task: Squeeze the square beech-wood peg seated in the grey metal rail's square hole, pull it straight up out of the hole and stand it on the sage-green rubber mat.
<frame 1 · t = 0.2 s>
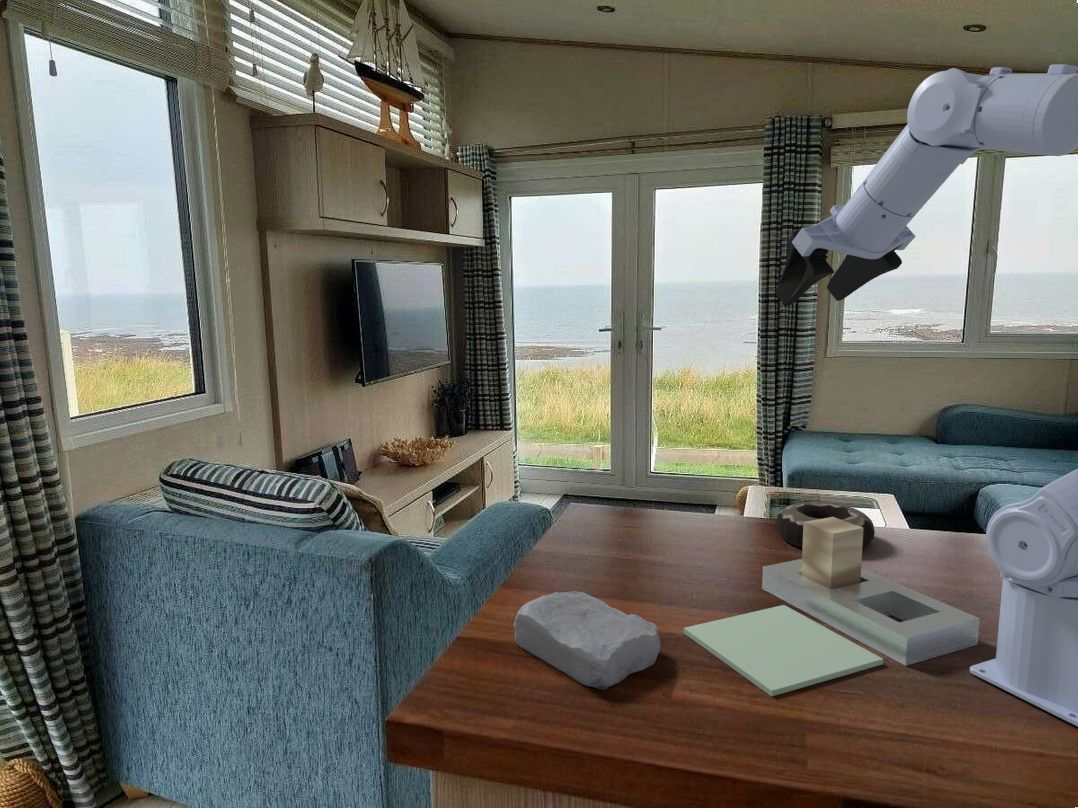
hand: (808, 296, 79), 31 cm above the kitchen counter, tool tilted 45°, fingers open, 7 cm apart
mat: (778, 647, 66), on the kitchen counter
donut: (823, 542, 94), on the kitchen counter
stone block: (591, 653, 66), on the kitchen counter
peg: (829, 599, 76), resting in rail
rail: (860, 614, 72), on the kitchen counter
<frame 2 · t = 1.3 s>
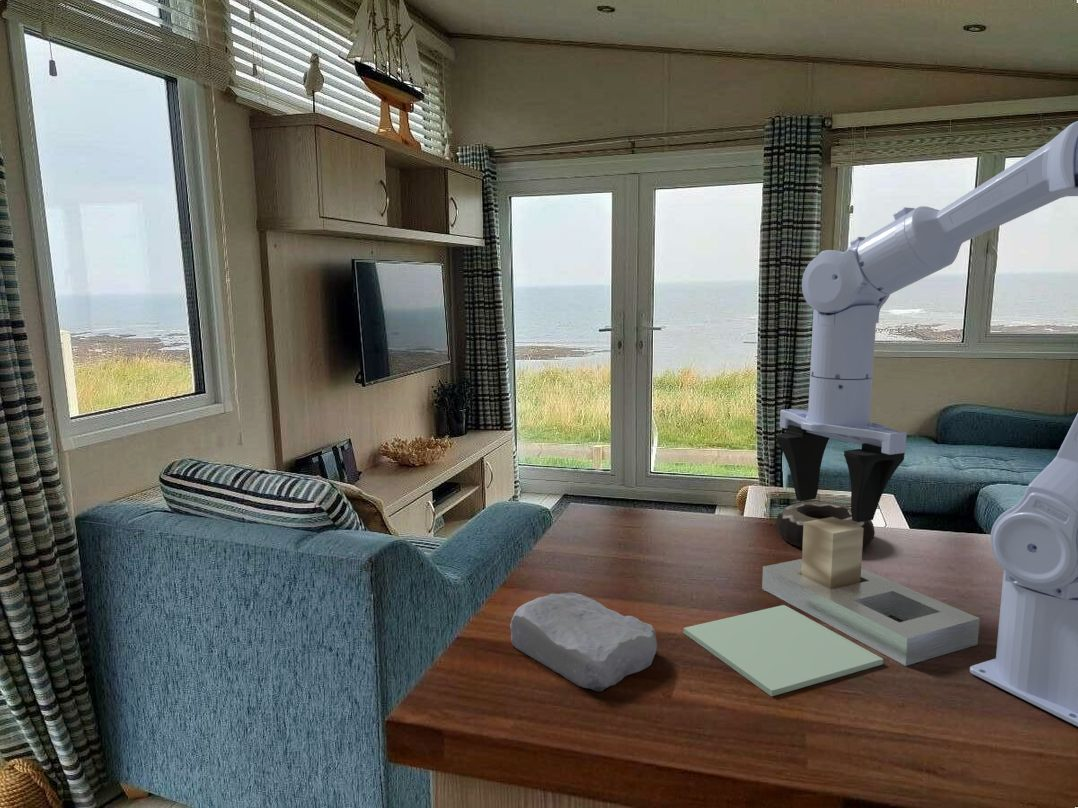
hand: (833, 509, 74), 10 cm above the kitchen counter, tool pointing down, fingers open, 7 cm apart
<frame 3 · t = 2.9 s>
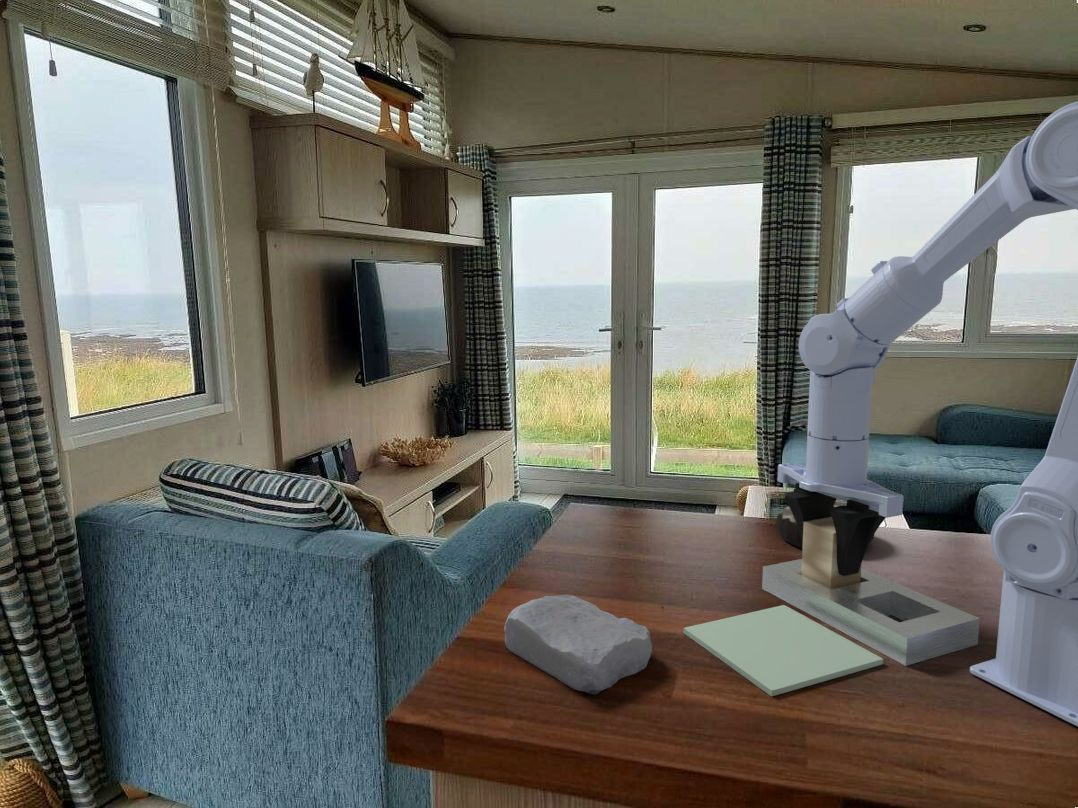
hand: (831, 565, 75), 4 cm above the kitchen counter, tool pointing down, fingers closed on peg, 4 cm apart
peg: (829, 599, 76), resting in rail, touching gripper
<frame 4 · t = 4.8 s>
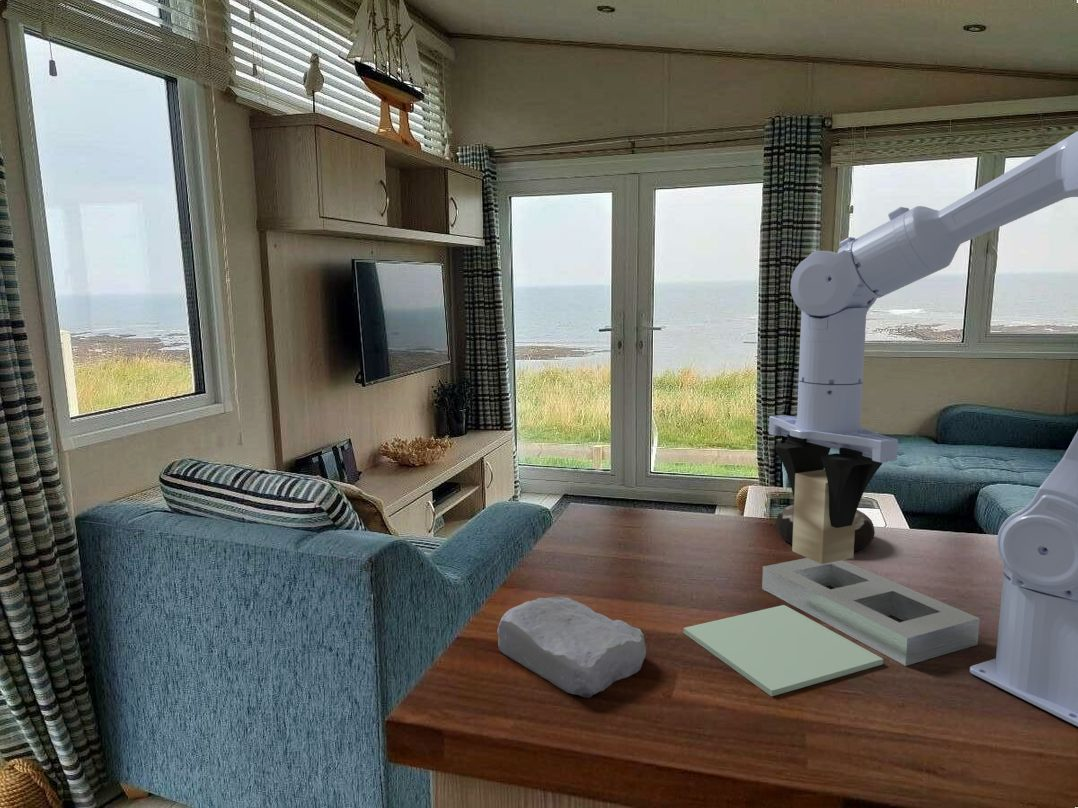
hand: (823, 518, 72), 9 cm above the kitchen counter, tool pointing down, fingers closed on peg, 4 cm apart
peg: (822, 554, 73), point 6 cm above the kitchen counter, touching gripper
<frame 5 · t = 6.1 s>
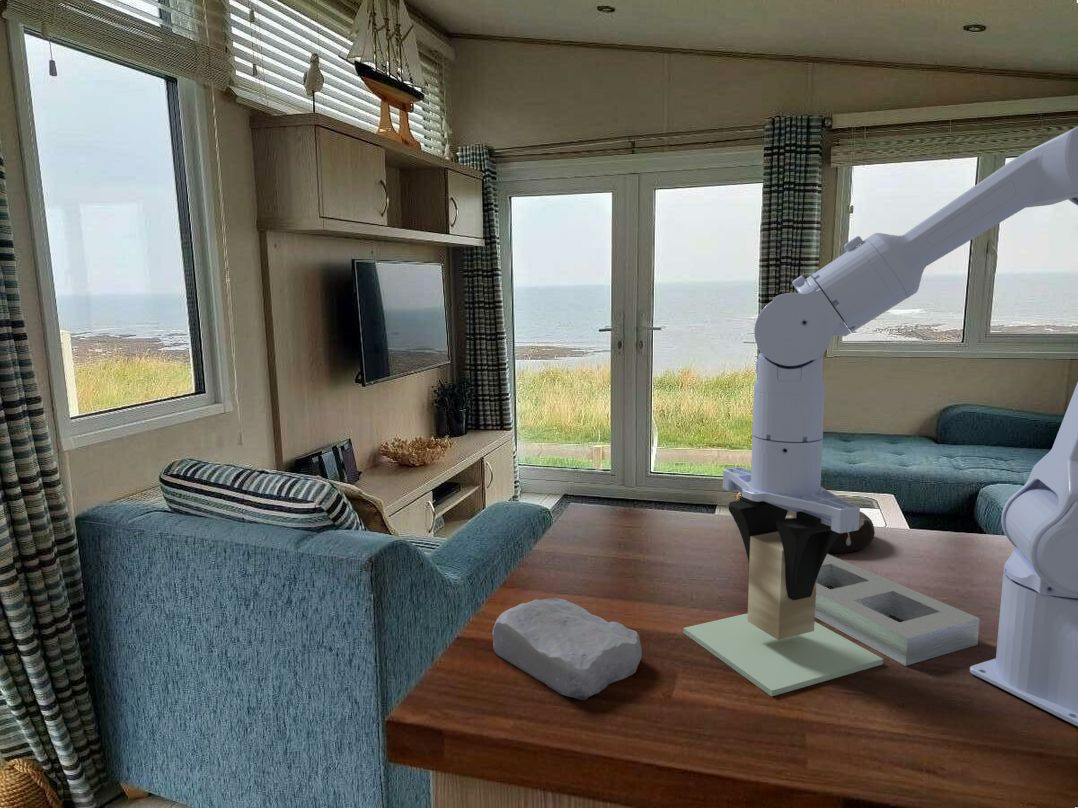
hand: (780, 587, 65), 6 cm above the kitchen counter, tool pointing down, fingers closed on peg, 4 cm apart
peg: (780, 626, 65), point 2 cm above the kitchen counter, touching gripper
when the fingers open (6 cm above the kitchen counter, at t = 6.9 s): peg drops 1 cm, resting on mat.
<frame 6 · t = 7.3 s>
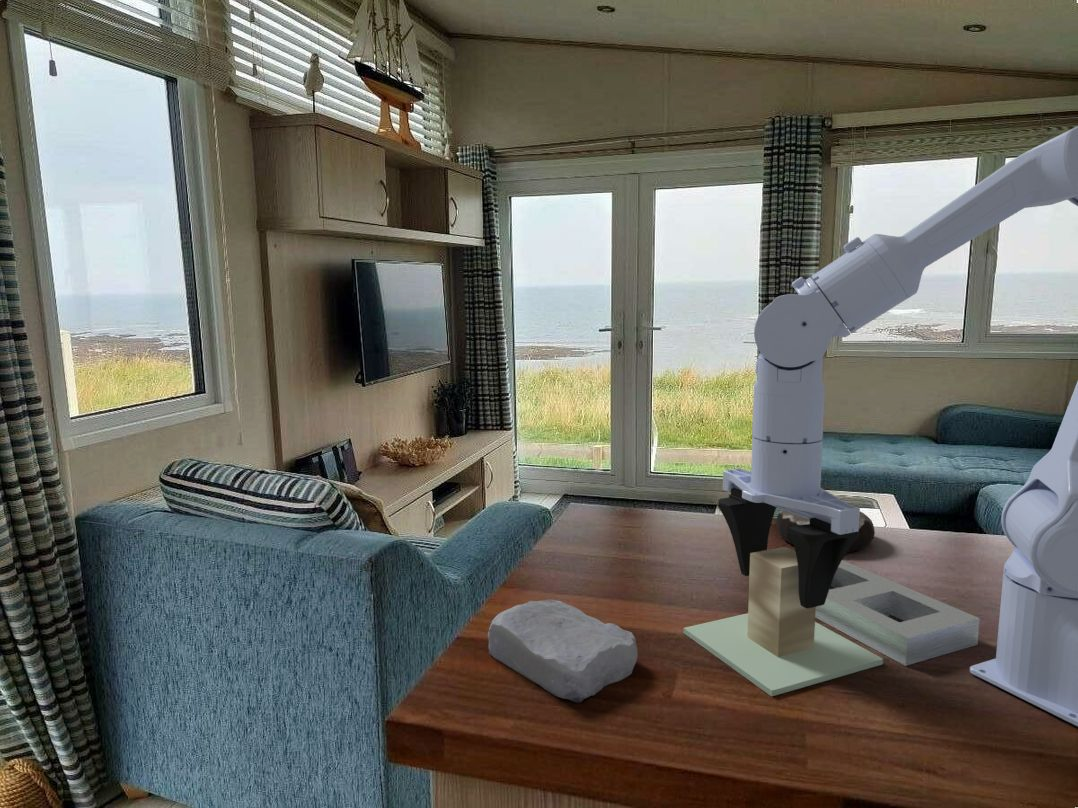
hand: (780, 588, 65), 6 cm above the kitchen counter, tool pointing down, fingers open, 7 cm apart
peg: (780, 642, 66), resting on mat
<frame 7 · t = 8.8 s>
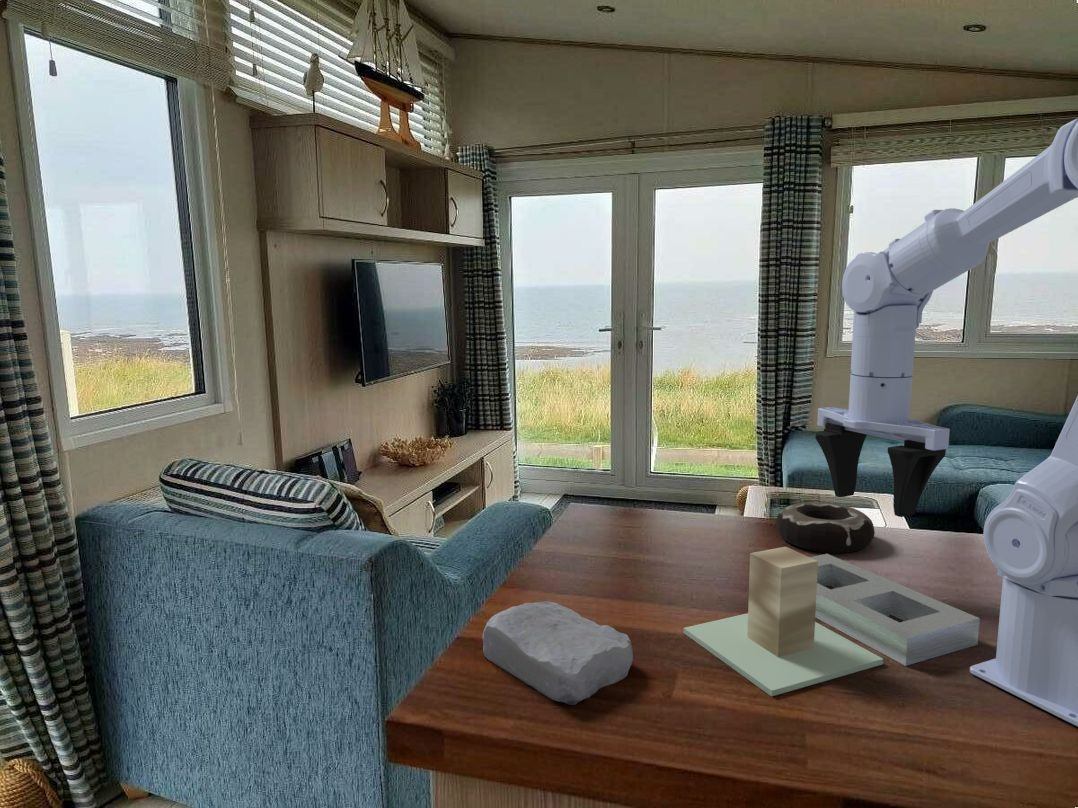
hand: (873, 504, 76), 9 cm above the kitchen counter, tool pointing down, fingers open, 7 cm apart
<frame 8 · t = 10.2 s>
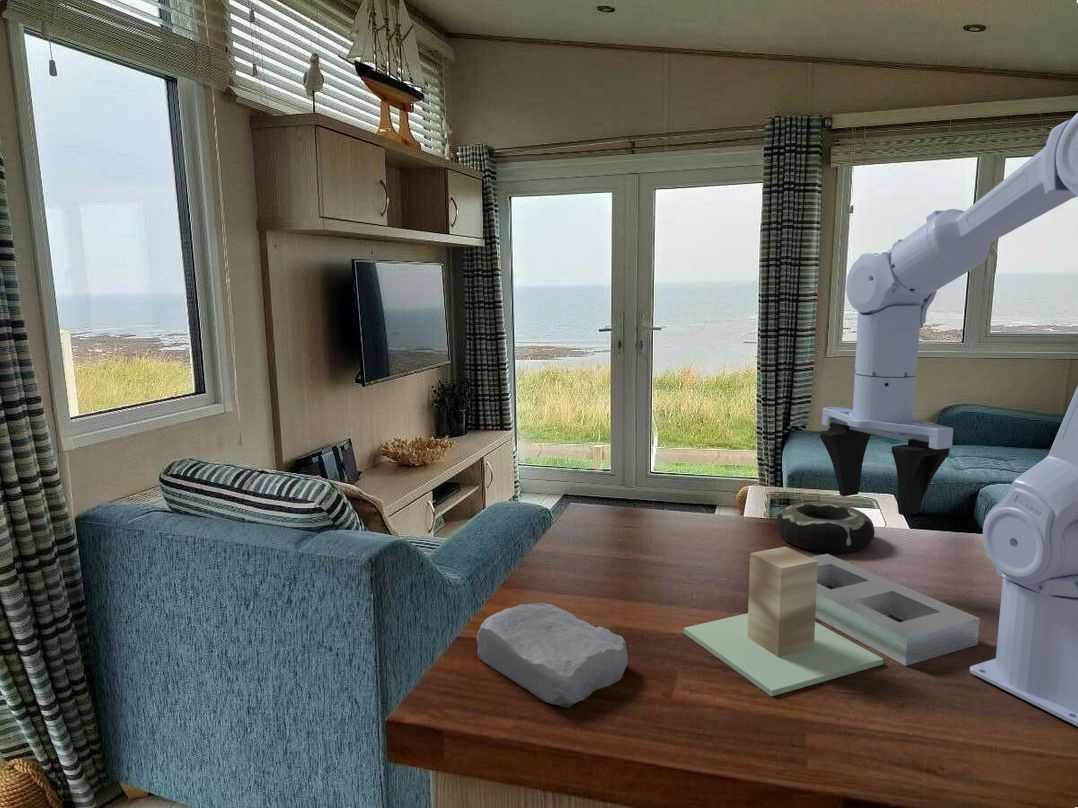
hand: (877, 503, 77), 9 cm above the kitchen counter, tool pointing down, fingers open, 7 cm apart
at the end: peg inside the target area on the mat (0.1 cm from its centre), point 0.5 cm above the mat's base; peg tilted 0°; the gripper is holding nothing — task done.
